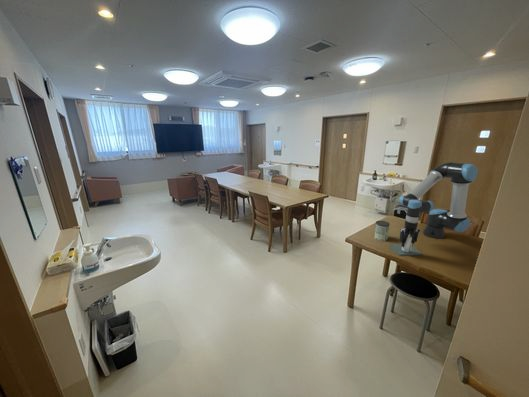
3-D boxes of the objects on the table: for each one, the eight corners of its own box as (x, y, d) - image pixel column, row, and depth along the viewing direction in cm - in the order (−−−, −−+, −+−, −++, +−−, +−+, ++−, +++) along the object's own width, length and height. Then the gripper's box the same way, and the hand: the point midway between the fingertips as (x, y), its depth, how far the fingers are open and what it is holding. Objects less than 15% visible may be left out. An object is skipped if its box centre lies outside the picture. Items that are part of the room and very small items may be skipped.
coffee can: (372, 234, 189) (374, 220, 185) (385, 235, 186) (387, 221, 182) (375, 240, 179) (377, 224, 175) (388, 241, 177) (391, 225, 173)
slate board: (409, 245, 170) (409, 243, 169) (422, 254, 156) (422, 253, 156) (388, 246, 169) (388, 244, 169) (399, 255, 156) (399, 254, 156)
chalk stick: (406, 249, 160) (409, 235, 157) (410, 252, 156) (413, 237, 153) (401, 249, 160) (404, 235, 157) (405, 252, 156) (407, 237, 153)
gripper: (419, 218, 155) (413, 247, 162) (396, 219, 155) (391, 248, 161) (427, 222, 148) (421, 252, 155) (403, 223, 148) (398, 253, 154)
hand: (406, 250), depth 158 cm, fingers closed on chalk stick, 4 cm apart
